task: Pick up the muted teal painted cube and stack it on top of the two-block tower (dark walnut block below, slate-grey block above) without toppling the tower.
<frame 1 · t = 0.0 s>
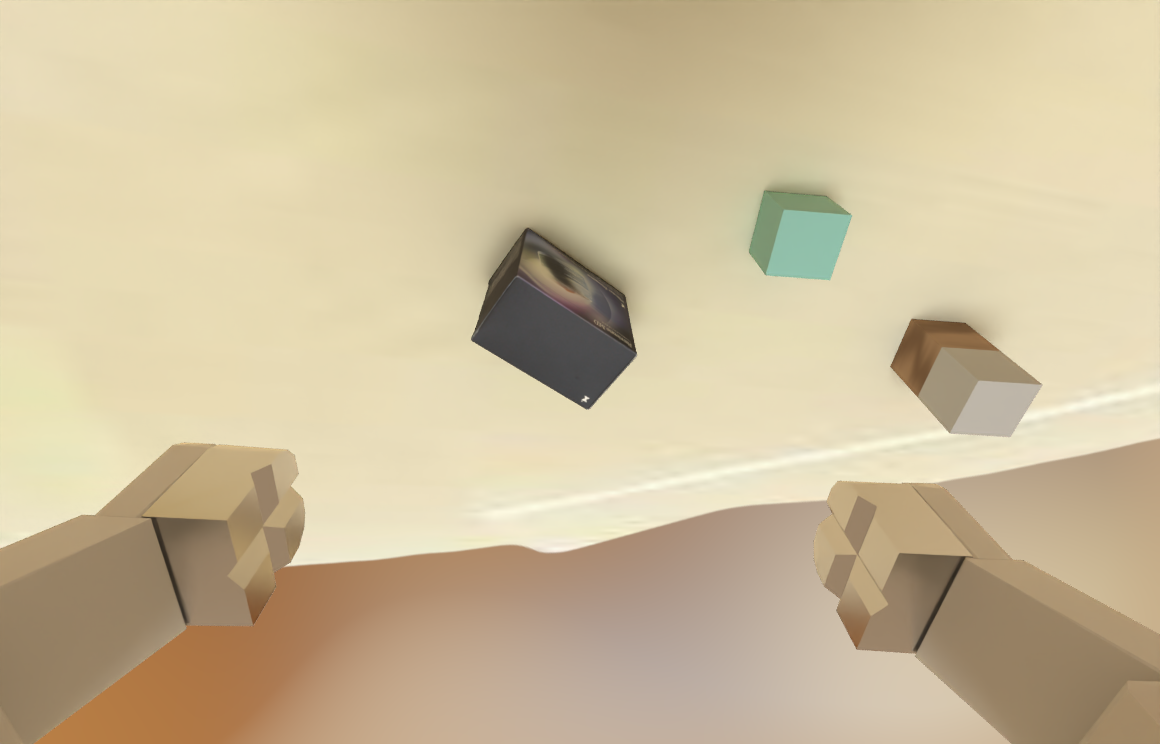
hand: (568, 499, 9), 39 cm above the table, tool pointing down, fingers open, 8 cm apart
grey mid block: (957, 374, 48), point 5 cm above the table, touching walnut base block
teal cube: (786, 224, 46), on the table
walnut base block: (926, 345, 52), on the table, touching grey mid block
small box: (558, 287, 49), on the table
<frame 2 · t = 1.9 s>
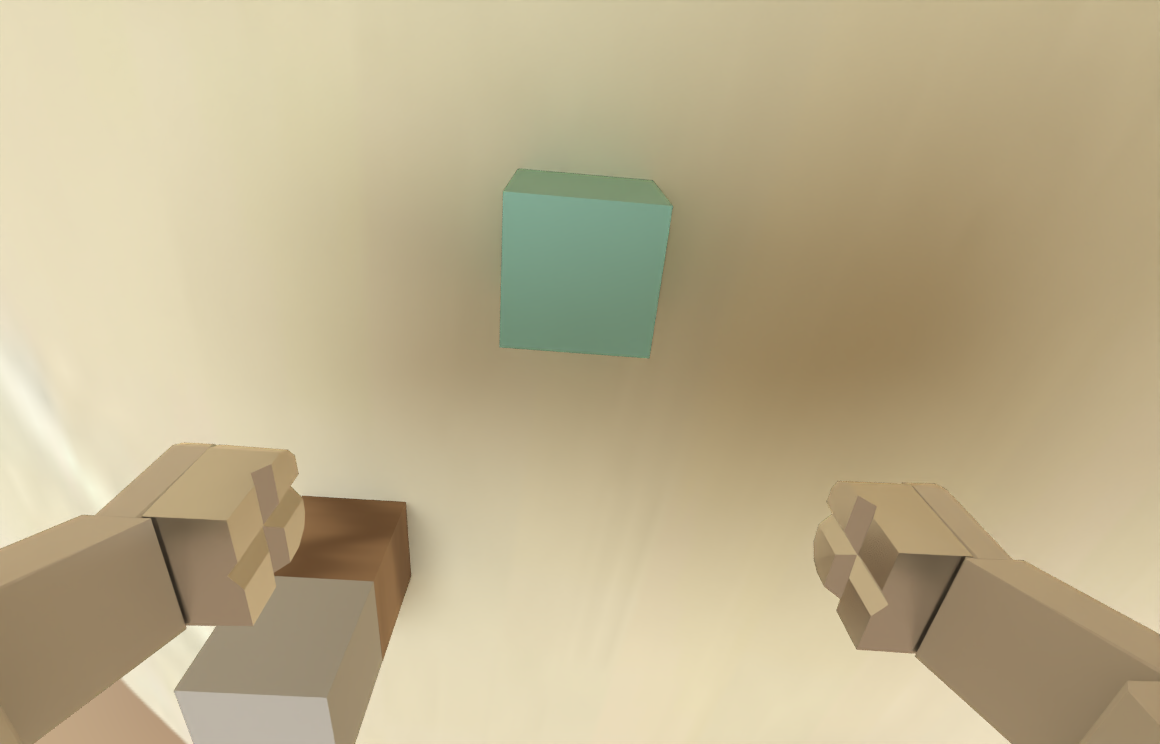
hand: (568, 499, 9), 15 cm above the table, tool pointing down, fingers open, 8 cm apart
grey mid block: (319, 620, 25), point 5 cm above the table, touching walnut base block
teal cube: (580, 241, 22), on the table
walnut base block: (359, 537, 29), on the table, touching grey mid block
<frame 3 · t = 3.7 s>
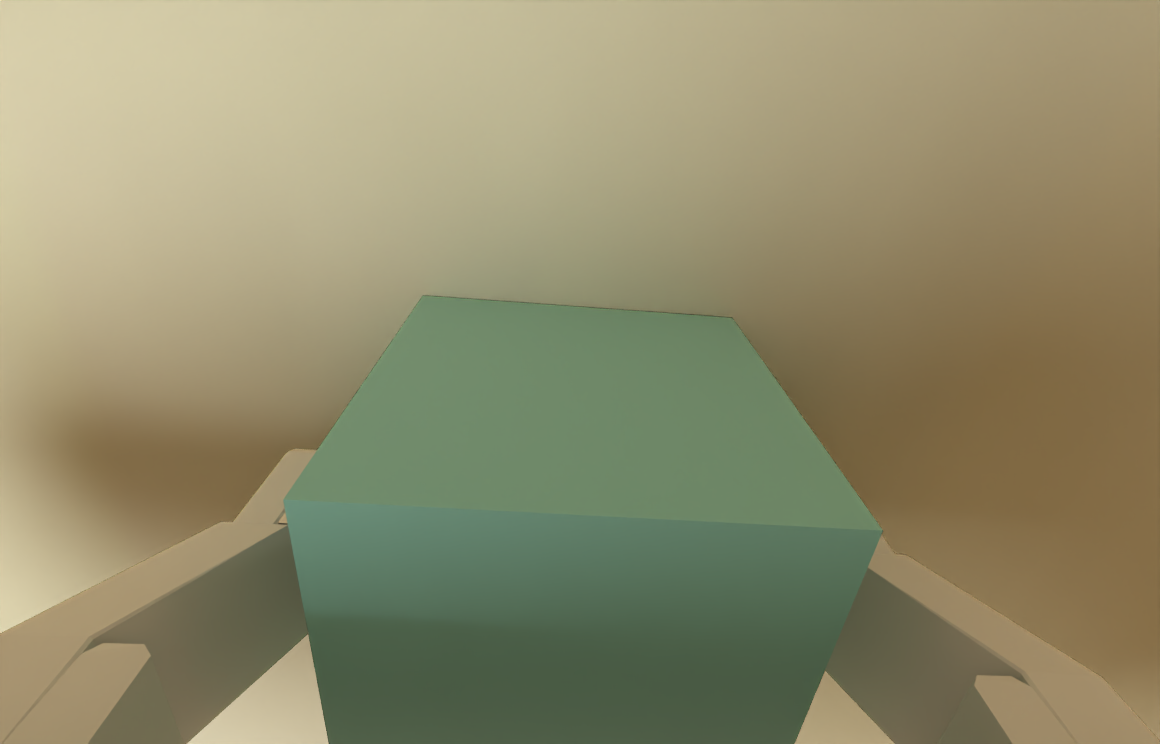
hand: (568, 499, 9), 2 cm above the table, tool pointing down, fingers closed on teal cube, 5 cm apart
teal cube: (568, 437, 10), on the table, touching gripper
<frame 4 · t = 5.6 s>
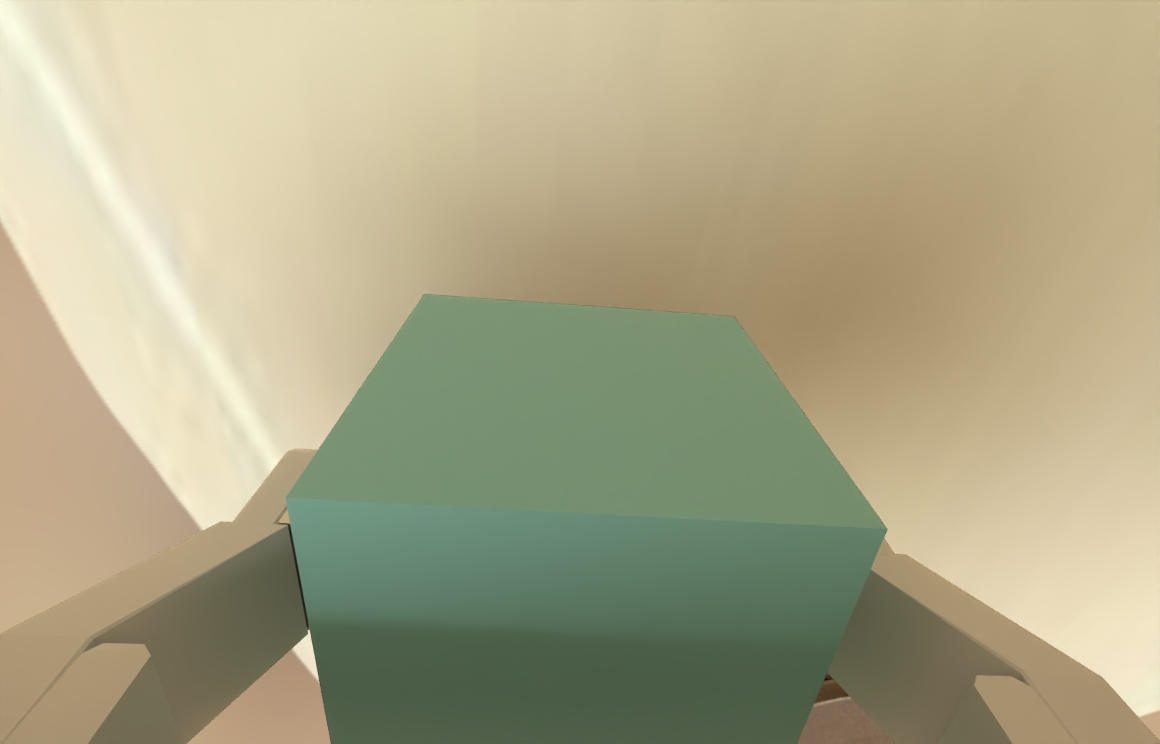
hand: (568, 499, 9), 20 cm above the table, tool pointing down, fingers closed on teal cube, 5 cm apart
plant saucer: (833, 735, 46), on the table
teal cube: (569, 436, 10), point 18 cm above the table, touching gripper
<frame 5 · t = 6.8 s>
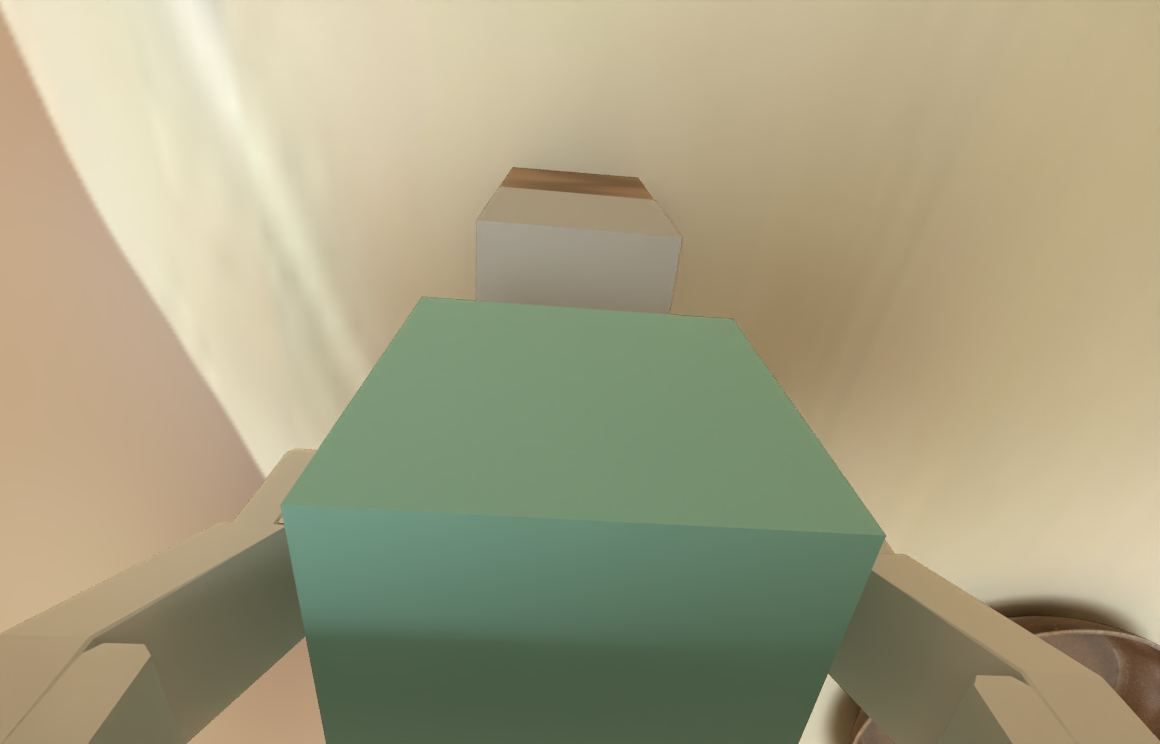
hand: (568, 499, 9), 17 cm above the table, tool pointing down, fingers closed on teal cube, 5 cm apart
grey mid block: (571, 269, 19), point 5 cm above the table, touching walnut base block
plant saucer: (979, 693, 39), on the table
teal cube: (568, 438, 10), point 15 cm above the table, touching gripper
walnut base block: (571, 235, 24), on the table, touching grey mid block
when the fingers open (13 cm above the table, at t = 7.9 s): teal cube drops 1 cm, resting on grey mid block.
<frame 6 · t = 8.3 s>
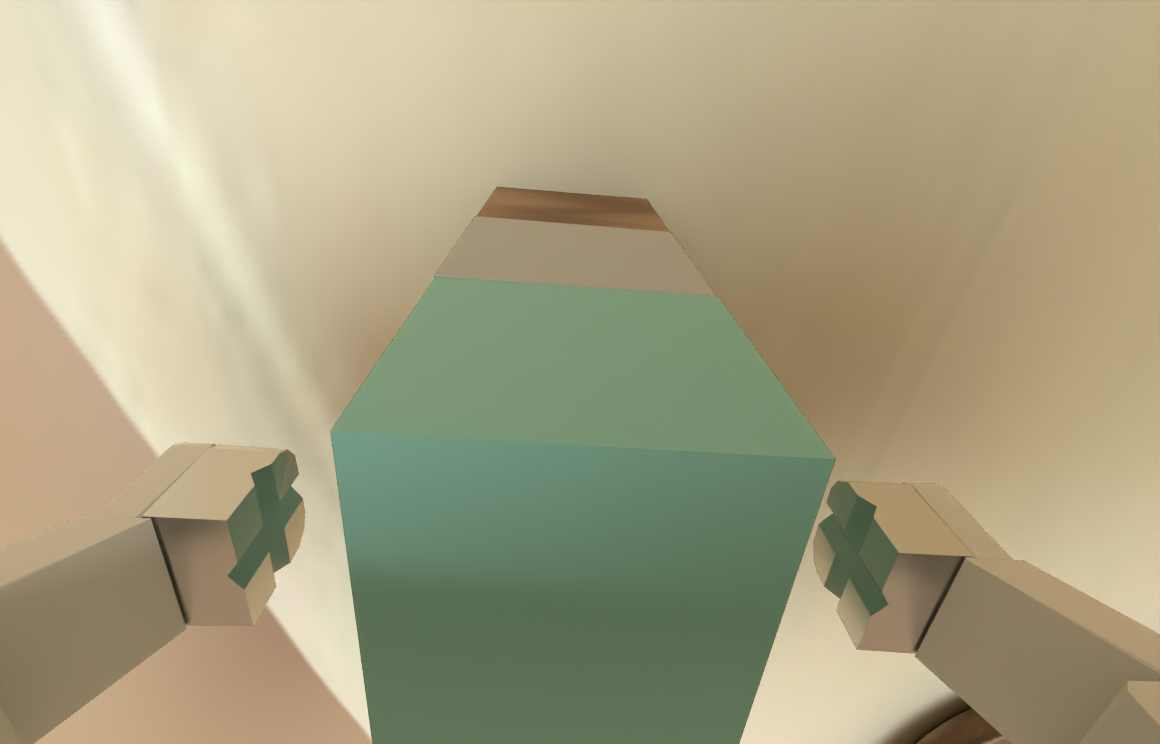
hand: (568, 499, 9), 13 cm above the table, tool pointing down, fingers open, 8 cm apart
grey mid block: (566, 315, 16), point 5 cm above the table, touching teal cube, walnut base block
teal cube: (568, 408, 11), point 10 cm above the table, touching grey mid block
walnut base block: (566, 266, 20), on the table, touching grey mid block
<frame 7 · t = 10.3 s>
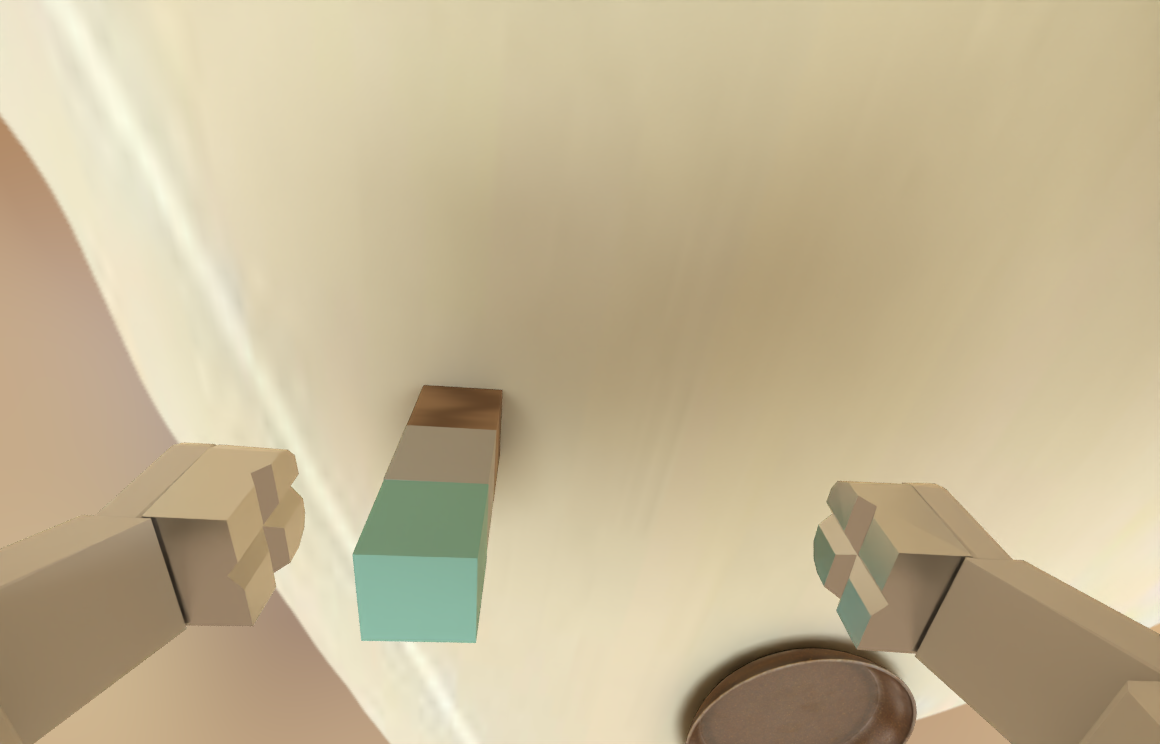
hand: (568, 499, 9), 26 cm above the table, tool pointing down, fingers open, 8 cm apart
grey mid block: (451, 464, 33), point 5 cm above the table, touching teal cube, walnut base block
plant saucer: (786, 703, 53), on the table
teal cube: (437, 522, 29), point 10 cm above the table, touching grey mid block
walnut base block: (462, 421, 38), on the table, touching grey mid block
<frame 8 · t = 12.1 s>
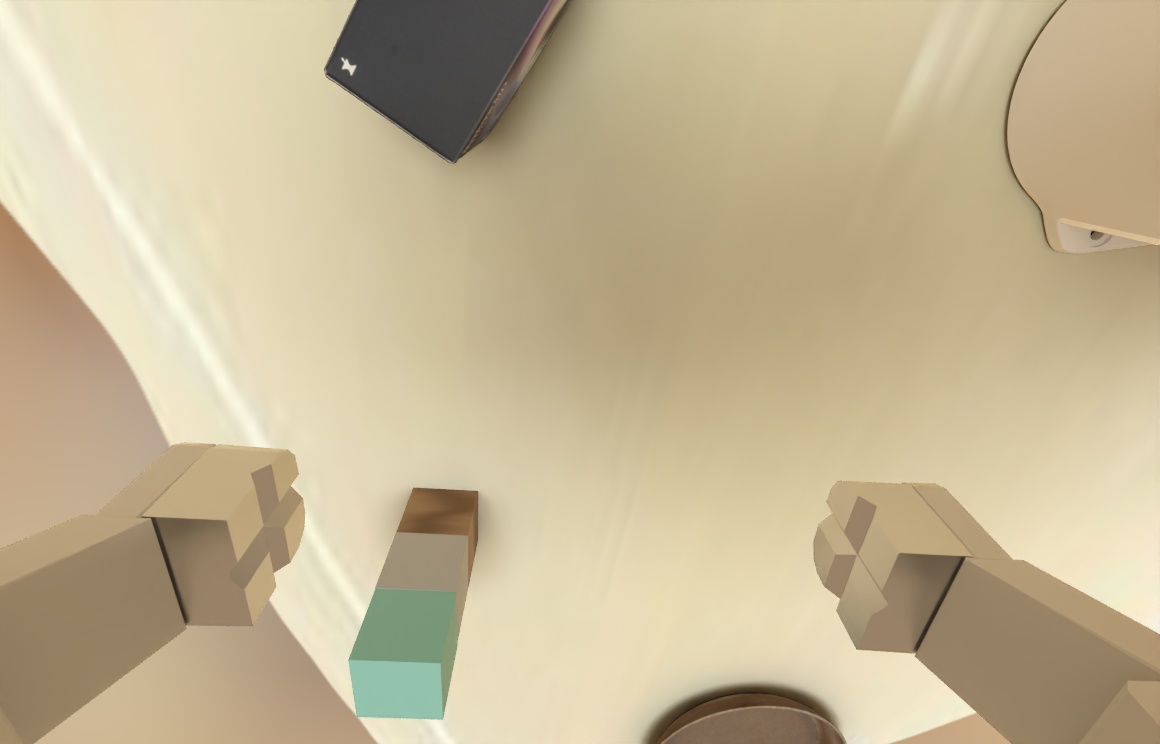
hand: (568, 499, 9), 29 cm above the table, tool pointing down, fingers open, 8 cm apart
grey mid block: (433, 560, 42), point 5 cm above the table, touching teal cube, walnut base block
plant saucer: (737, 737, 61), on the table
teal cube: (417, 617, 37), point 10 cm above the table, touching grey mid block
walnut base block: (446, 514, 46), on the table, touching grey mid block
small box: (487, 28, 31), on the table
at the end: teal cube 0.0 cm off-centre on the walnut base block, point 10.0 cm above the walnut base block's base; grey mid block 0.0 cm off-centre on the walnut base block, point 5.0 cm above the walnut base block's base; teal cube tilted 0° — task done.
